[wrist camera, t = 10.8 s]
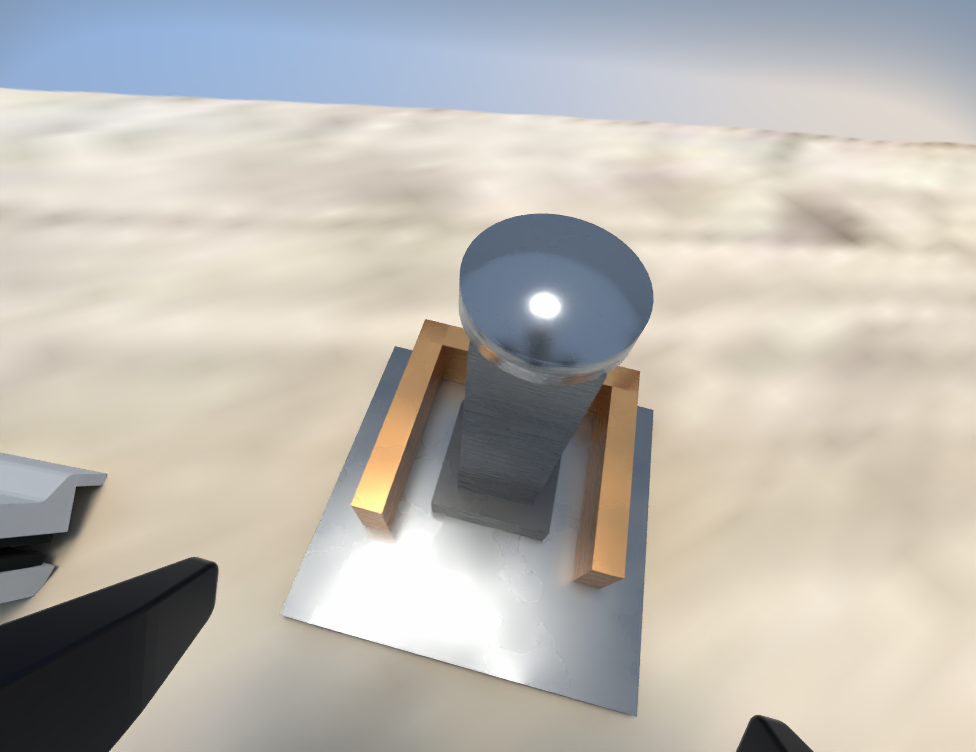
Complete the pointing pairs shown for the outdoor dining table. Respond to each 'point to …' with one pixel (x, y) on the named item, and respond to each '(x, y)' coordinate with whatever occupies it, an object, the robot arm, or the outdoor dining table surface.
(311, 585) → the keeper cradle
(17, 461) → the hinge
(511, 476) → the grey piece
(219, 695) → the outdoor dining table surface
